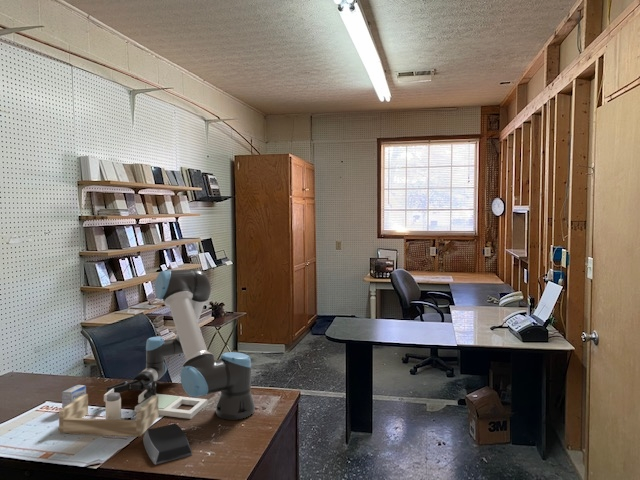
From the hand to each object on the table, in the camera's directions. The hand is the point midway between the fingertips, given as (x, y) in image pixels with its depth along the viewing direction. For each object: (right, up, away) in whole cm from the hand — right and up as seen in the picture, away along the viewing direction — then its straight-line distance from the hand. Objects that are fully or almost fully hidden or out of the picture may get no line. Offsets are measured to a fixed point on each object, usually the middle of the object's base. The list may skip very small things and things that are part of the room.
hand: (121, 399), depth 171 cm
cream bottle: (0, -6, -7) cm, 10 cm away
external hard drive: (+26, -8, -23) cm, 36 cm away
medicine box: (-20, -6, +3) cm, 21 cm away
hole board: (+17, -6, +7) cm, 19 cm away
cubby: (0, -6, -9) cm, 11 cm away
